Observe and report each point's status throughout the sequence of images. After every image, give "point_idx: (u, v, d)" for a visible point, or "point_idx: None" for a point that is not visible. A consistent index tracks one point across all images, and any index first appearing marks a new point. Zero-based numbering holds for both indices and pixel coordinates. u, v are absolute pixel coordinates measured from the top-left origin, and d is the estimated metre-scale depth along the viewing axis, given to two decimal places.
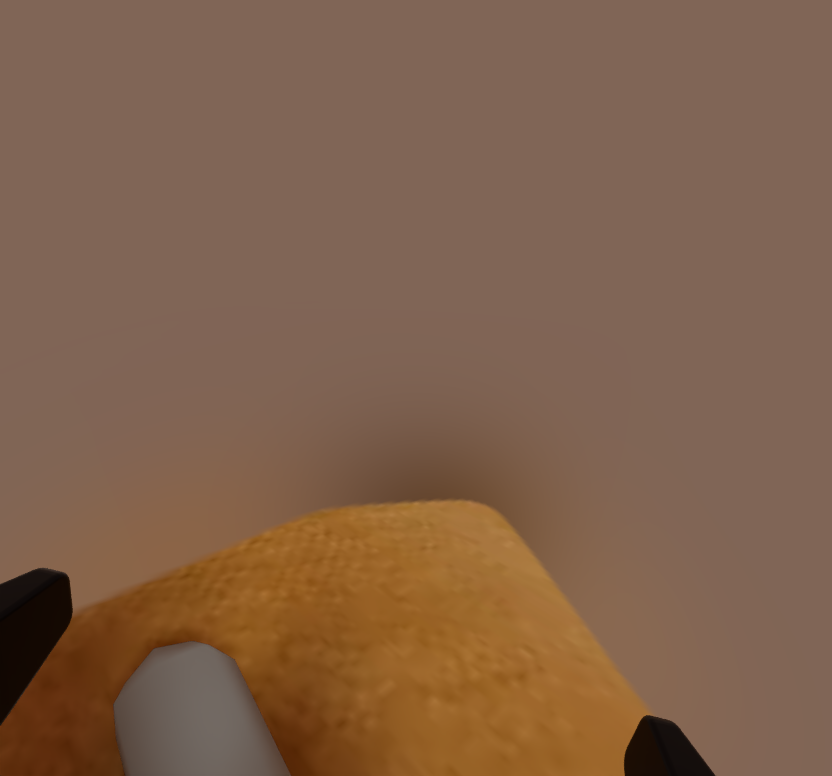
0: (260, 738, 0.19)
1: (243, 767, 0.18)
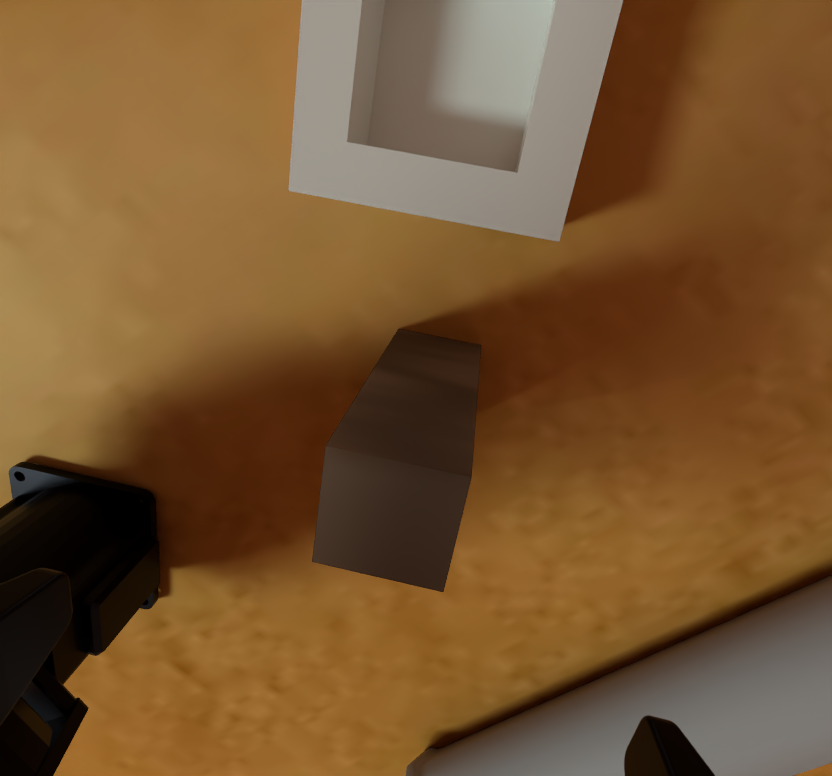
0: None
1: None
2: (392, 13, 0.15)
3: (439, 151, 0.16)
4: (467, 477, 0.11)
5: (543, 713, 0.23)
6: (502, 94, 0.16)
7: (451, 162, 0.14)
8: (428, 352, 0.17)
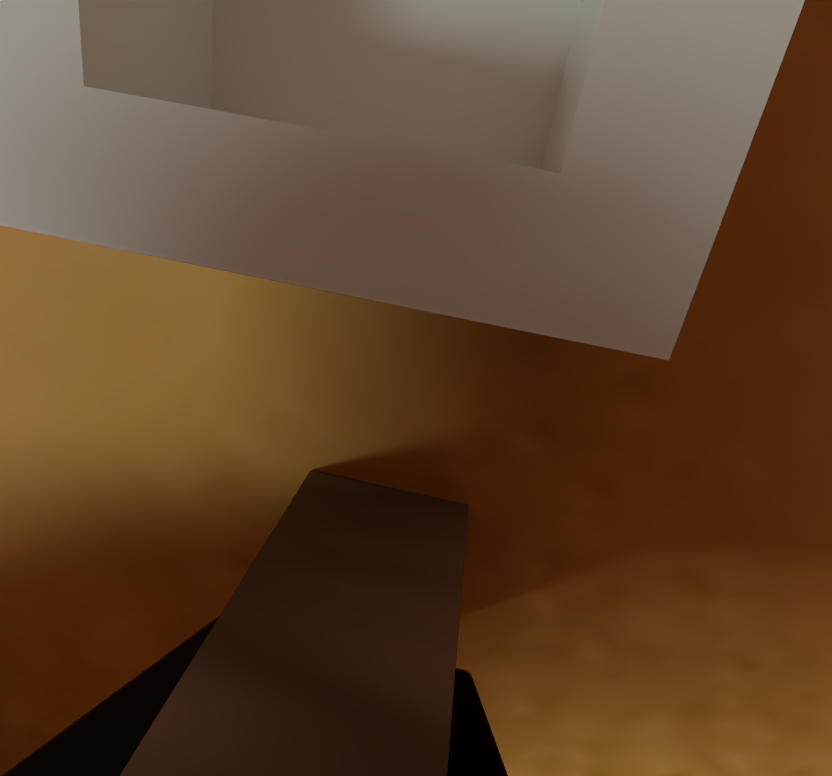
0: None
1: None
2: None
3: (369, 124, 0.07)
4: None
5: None
6: None
7: (372, 143, 0.05)
8: (353, 554, 0.08)
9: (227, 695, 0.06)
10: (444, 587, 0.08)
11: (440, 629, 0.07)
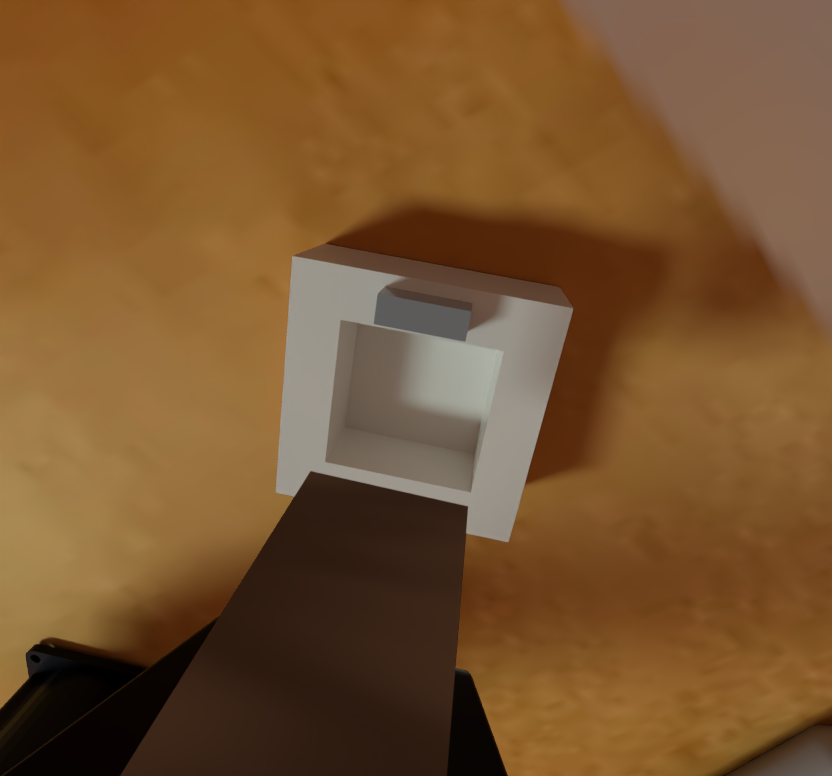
0: None
1: None
2: (364, 333, 0.18)
3: (408, 434, 0.19)
4: None
5: None
6: (460, 396, 0.18)
7: (414, 481, 0.16)
8: (352, 555, 0.08)
9: (227, 697, 0.06)
10: (444, 588, 0.08)
11: (440, 630, 0.07)
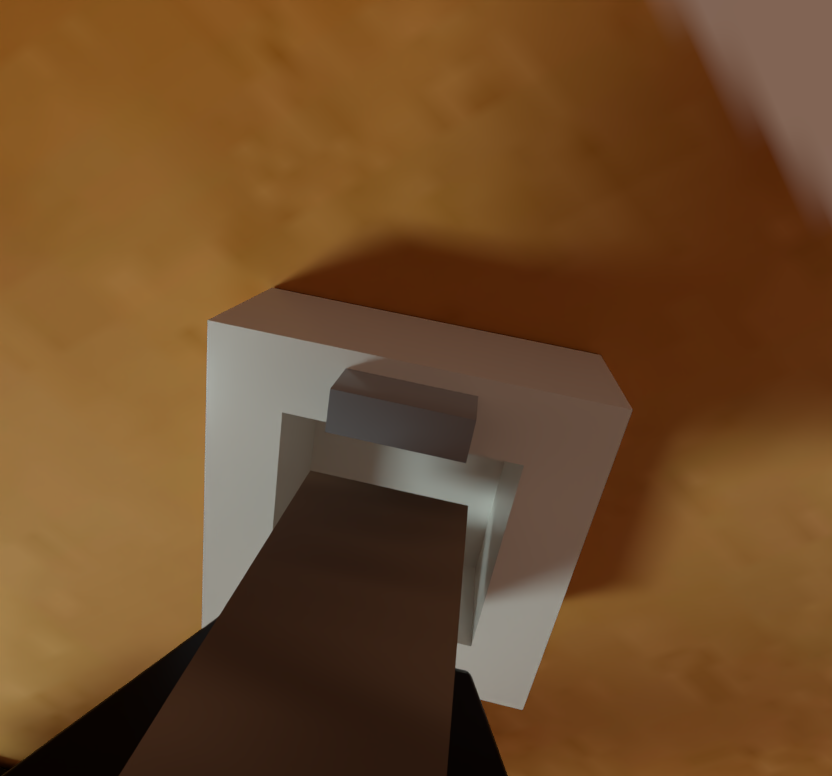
0: None
1: None
2: None
3: None
4: None
5: None
6: (459, 496, 0.13)
7: None
8: (352, 556, 0.08)
9: (226, 696, 0.06)
10: (444, 588, 0.08)
11: (440, 630, 0.07)
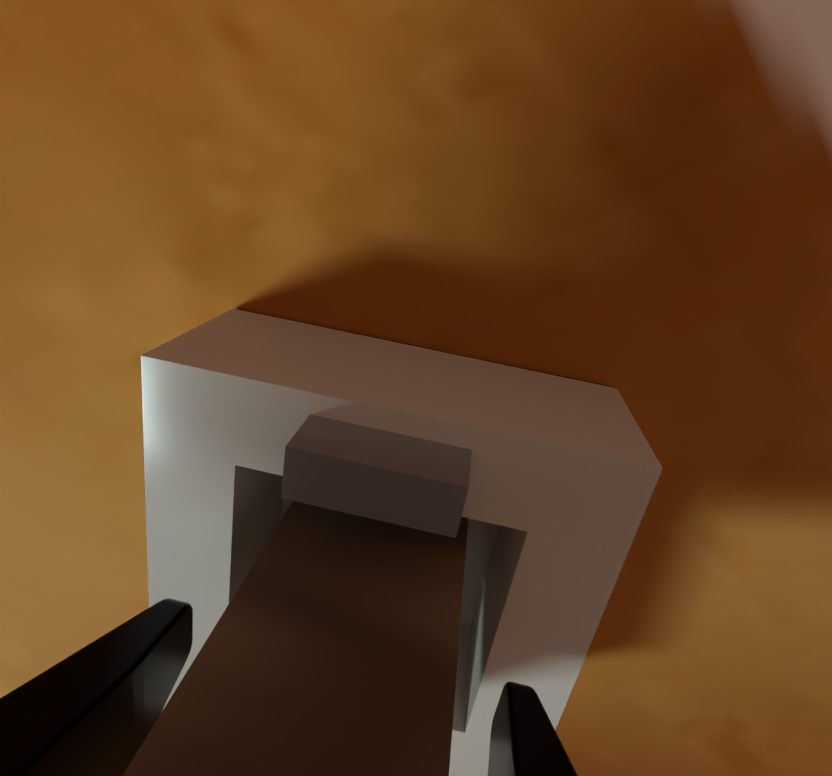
0: None
1: None
2: None
3: None
4: None
5: None
6: None
7: None
8: (367, 518, 0.09)
9: (264, 627, 0.07)
10: (450, 546, 0.09)
11: (447, 580, 0.08)
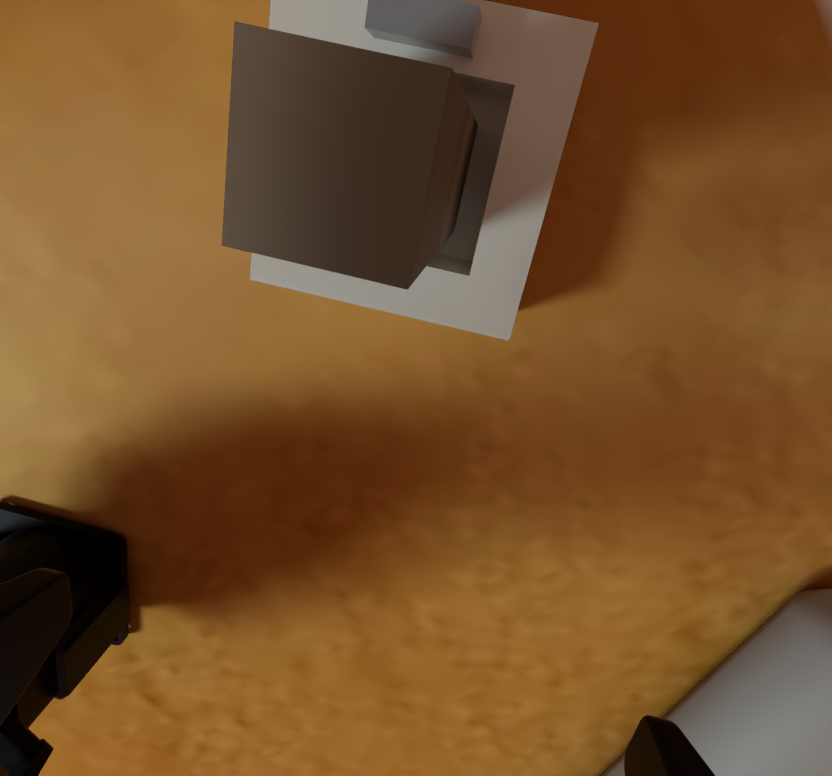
0: None
1: None
2: None
3: None
4: None
5: None
6: None
7: None
8: None
9: None
10: None
11: None
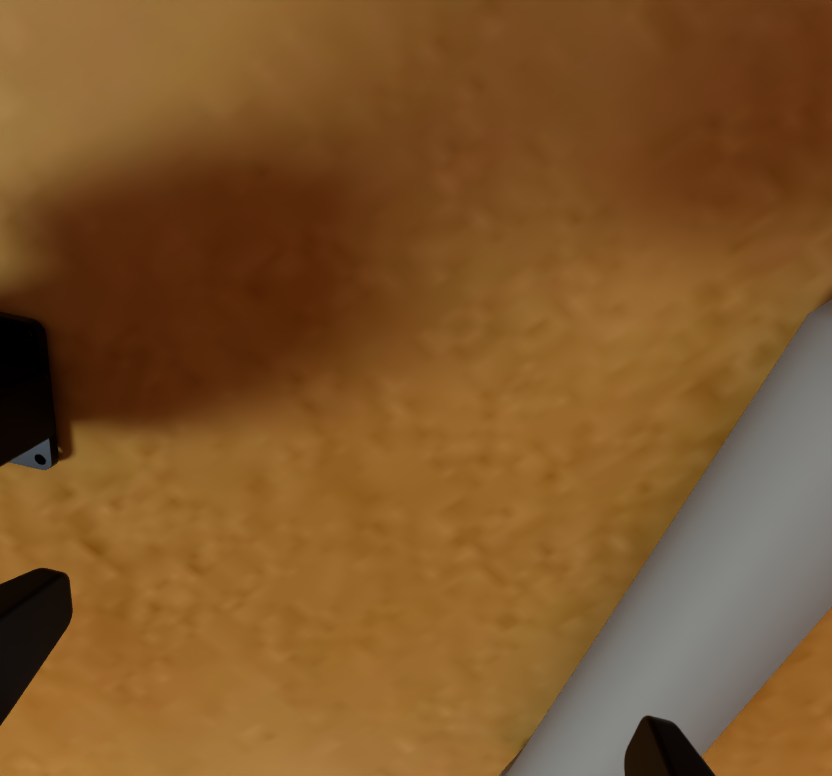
0: None
1: None
2: None
3: None
4: None
5: (574, 672, 0.21)
6: None
7: None
8: None
9: None
10: None
11: None
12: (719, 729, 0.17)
